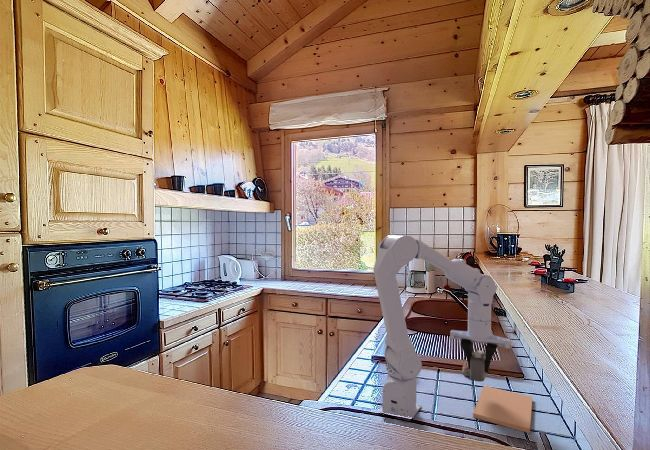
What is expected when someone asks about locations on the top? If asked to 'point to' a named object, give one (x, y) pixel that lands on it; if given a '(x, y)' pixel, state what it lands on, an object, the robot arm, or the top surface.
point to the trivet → (504, 408)
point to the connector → (478, 366)
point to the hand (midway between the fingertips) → (478, 369)
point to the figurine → (466, 369)
